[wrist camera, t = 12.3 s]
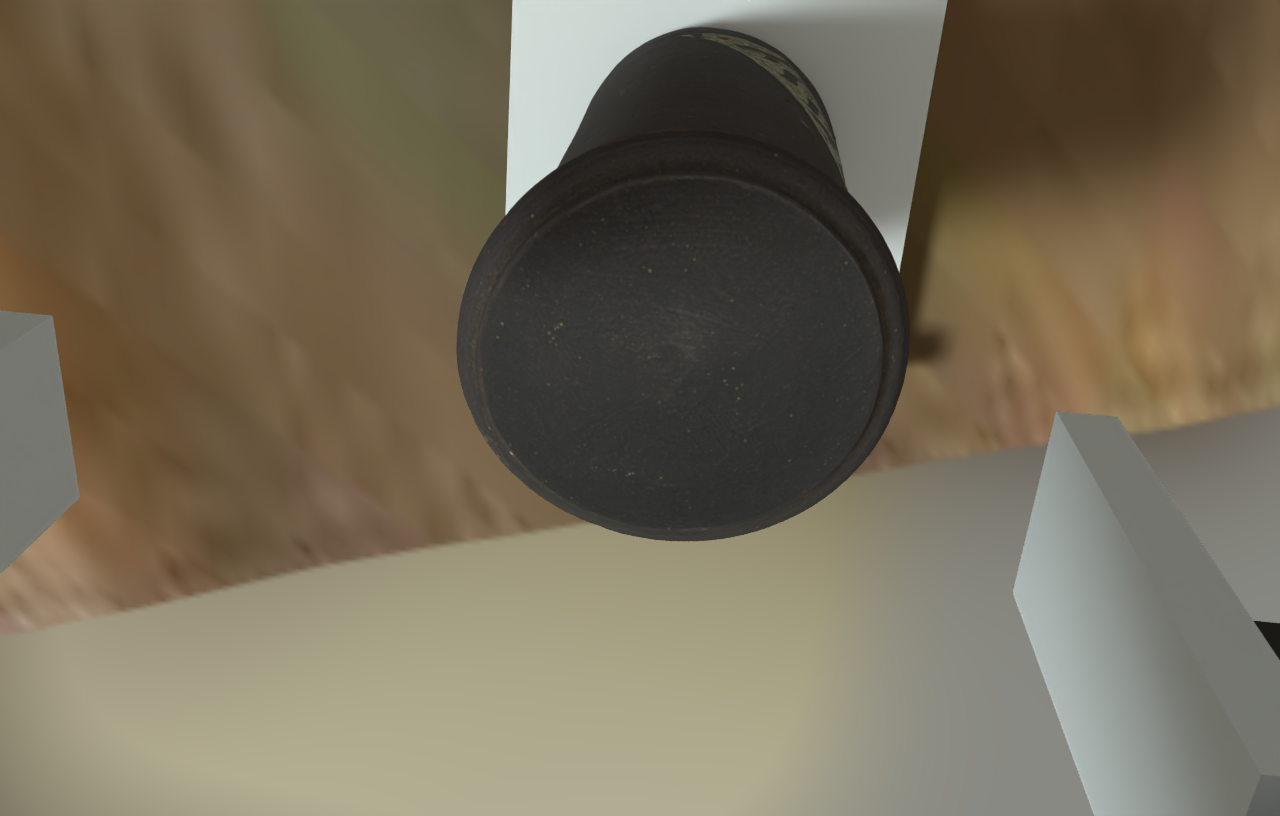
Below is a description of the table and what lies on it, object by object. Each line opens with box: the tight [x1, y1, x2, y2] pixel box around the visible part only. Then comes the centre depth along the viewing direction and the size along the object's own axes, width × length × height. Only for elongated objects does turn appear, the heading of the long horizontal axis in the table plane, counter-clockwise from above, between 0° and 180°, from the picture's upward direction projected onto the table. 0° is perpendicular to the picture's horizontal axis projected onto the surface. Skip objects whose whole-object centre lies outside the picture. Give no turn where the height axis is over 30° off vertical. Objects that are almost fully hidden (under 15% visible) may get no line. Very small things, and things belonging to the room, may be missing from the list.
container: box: [457, 27, 909, 541], centre depth 31 cm, size 9×9×20 cm
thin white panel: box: [506, 0, 948, 271], centre depth 40 cm, size 20×14×4 cm
